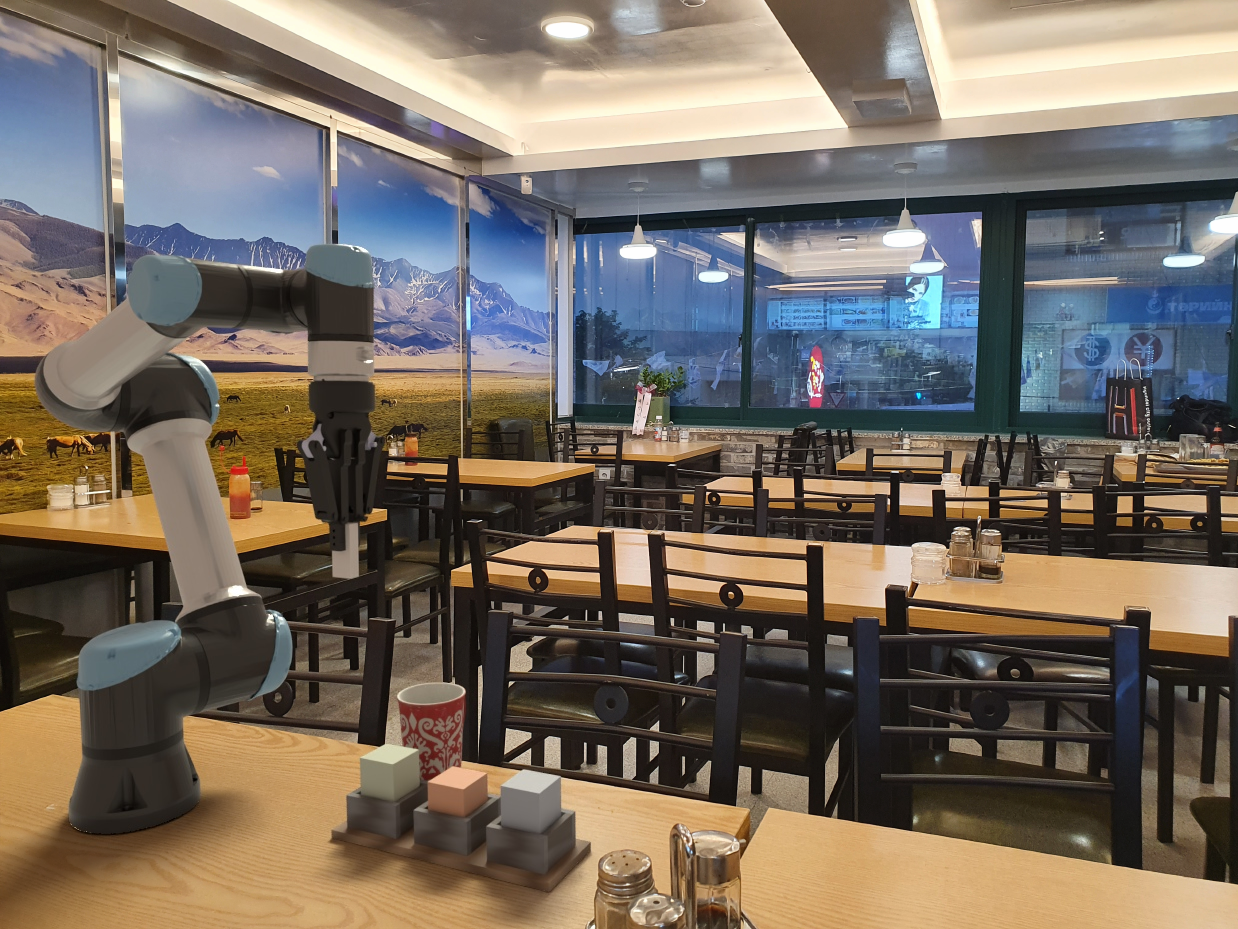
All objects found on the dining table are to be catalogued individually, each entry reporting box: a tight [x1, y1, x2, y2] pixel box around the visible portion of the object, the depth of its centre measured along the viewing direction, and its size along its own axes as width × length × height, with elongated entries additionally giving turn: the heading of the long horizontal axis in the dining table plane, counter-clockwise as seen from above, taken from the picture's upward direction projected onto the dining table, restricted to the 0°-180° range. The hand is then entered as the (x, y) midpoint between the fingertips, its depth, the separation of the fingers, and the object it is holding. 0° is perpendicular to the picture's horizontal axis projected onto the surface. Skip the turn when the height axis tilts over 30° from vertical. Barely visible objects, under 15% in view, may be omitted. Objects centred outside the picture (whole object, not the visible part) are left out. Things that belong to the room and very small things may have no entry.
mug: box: [396, 682, 467, 781], centre depth 124 cm, size 13×9×14 cm
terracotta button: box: [428, 766, 489, 818], centre depth 107 cm, size 5×5×6 cm
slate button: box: [499, 769, 562, 834], centre depth 103 cm, size 5×5×6 cm
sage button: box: [359, 743, 420, 802], centre depth 112 cm, size 5×5×6 cm
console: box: [330, 779, 592, 893], centre depth 108 cm, size 30×10×5 cm, turn 65°
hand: (345, 576), depth 109 cm, fingers closed
